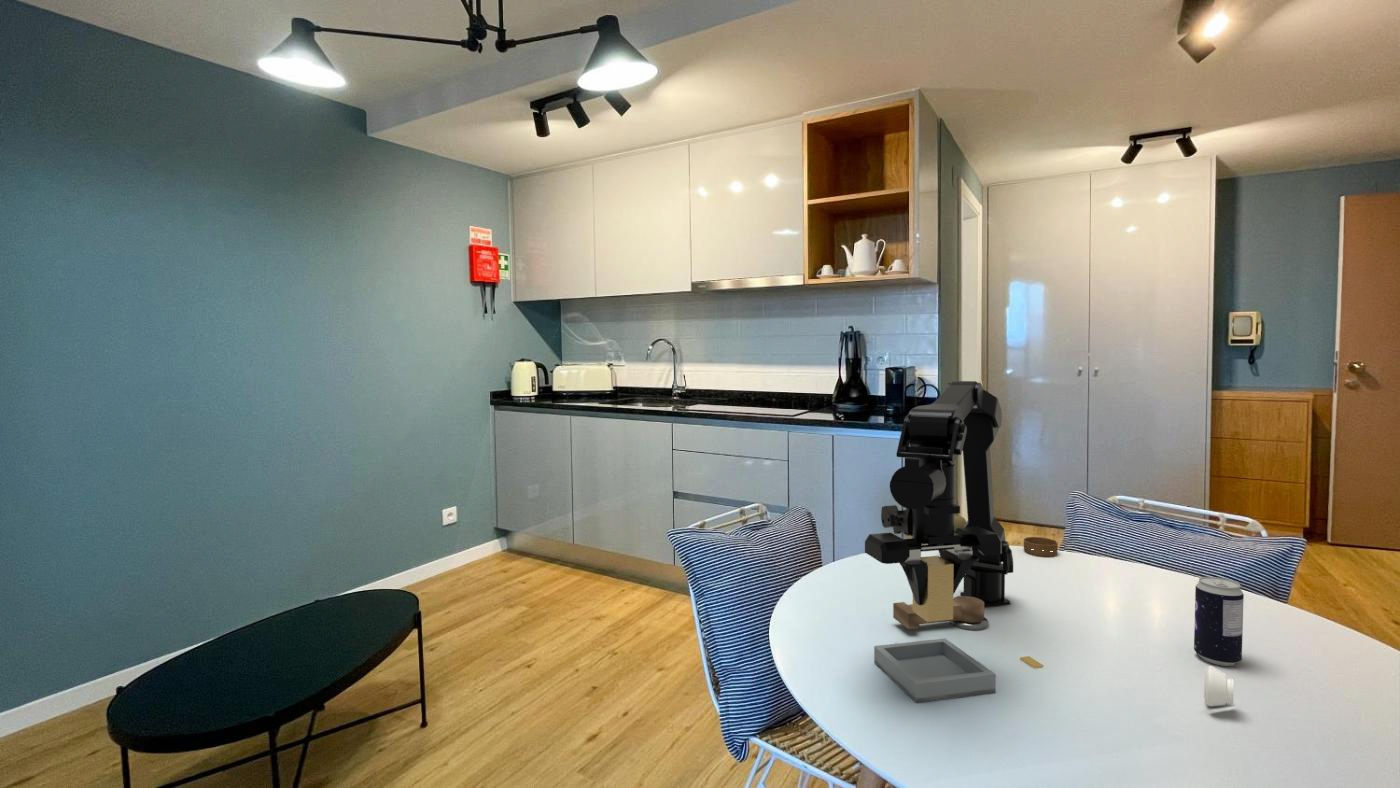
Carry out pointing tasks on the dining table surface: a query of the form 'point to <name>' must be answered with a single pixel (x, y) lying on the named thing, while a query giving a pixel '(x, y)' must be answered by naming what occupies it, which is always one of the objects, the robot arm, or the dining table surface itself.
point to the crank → (962, 610)
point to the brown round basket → (1040, 546)
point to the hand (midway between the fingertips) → (932, 602)
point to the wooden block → (937, 591)
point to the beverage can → (1218, 621)
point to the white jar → (1217, 687)
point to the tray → (934, 670)
